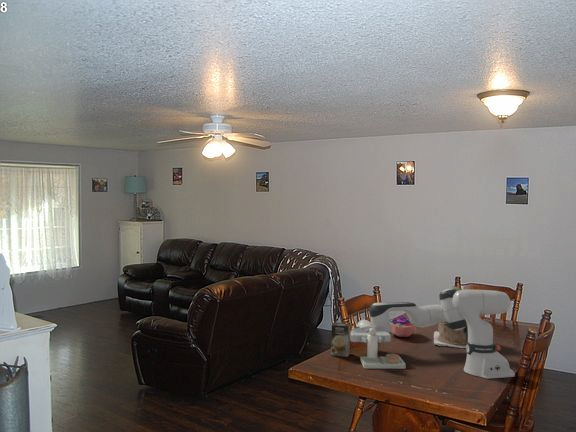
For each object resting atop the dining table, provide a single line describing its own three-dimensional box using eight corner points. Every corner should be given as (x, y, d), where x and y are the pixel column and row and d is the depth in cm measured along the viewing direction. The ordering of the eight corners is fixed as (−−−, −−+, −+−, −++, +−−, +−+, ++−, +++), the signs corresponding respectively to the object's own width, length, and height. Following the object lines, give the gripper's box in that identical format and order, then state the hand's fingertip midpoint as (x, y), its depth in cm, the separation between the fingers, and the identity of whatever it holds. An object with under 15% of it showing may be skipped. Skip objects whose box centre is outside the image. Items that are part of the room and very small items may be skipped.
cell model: (386, 339, 295) (386, 320, 294) (388, 330, 314) (388, 312, 314) (416, 341, 291) (416, 322, 290) (416, 332, 310) (416, 314, 310)
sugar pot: (397, 362, 254) (397, 351, 254) (400, 366, 248) (400, 355, 247) (384, 362, 254) (384, 351, 254) (387, 366, 248) (387, 355, 247)
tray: (399, 360, 257) (399, 356, 257) (405, 368, 245) (405, 364, 245) (360, 360, 257) (360, 356, 256) (364, 368, 245) (364, 363, 244)
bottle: (376, 355, 253) (376, 327, 253) (378, 358, 248) (378, 330, 248) (366, 355, 253) (366, 327, 253) (368, 358, 248) (368, 330, 248)
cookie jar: (433, 346, 283) (434, 289, 281) (433, 334, 306) (434, 282, 305) (480, 350, 276) (481, 291, 274) (477, 338, 299) (478, 284, 298)
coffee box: (330, 355, 264) (330, 324, 263) (332, 352, 270) (333, 322, 270) (348, 357, 262) (348, 326, 261) (349, 353, 268) (350, 323, 267)
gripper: (387, 339, 264) (393, 347, 250) (348, 339, 263) (352, 347, 249) (388, 327, 263) (394, 335, 249) (348, 327, 263) (352, 334, 249)
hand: (372, 341), depth 249 cm, fingers closed on bottle, 5 cm apart
